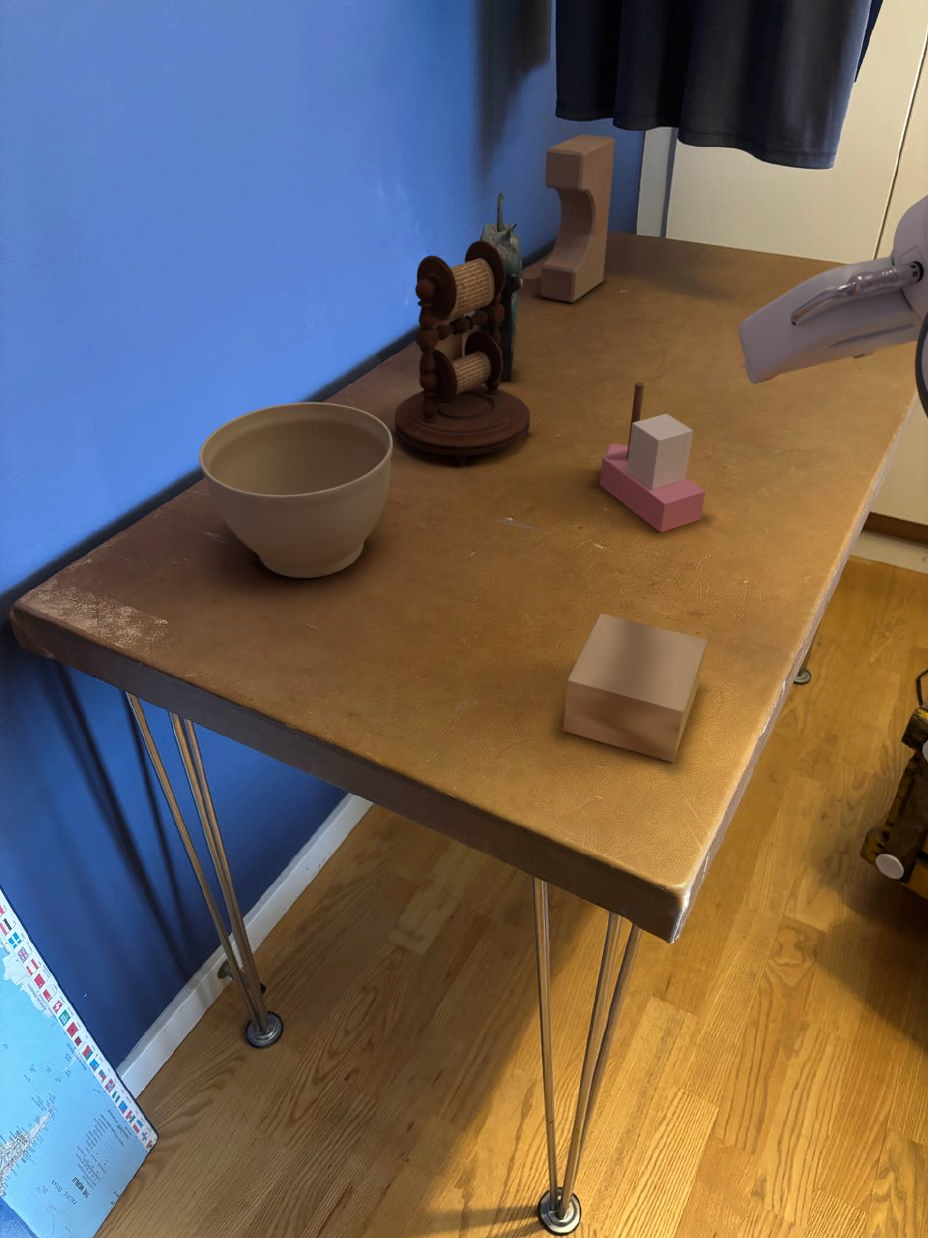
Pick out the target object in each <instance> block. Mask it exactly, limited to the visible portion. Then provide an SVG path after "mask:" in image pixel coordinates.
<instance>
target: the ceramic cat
mask: <svg viewBox="0 0 928 1238" xmlns="http://www.w3.org/2000/svg"><path fill="white" fill-rule="evenodd" d="M504 196H505V194H504V192H502V193H501V192H500V193H498V199H497V203H496V204H497V205H496V213H497V216H496V223H489V222H487V223H485V224H484V226H483V228H482V231H481V235H480V237H479V240H478V241H480V240H482V241H487V242H489V243H490V244H492V245H493V246H494V247H495V248H496V249H497V251H498V252H499V254H500V256H501V258H502V260H503V263H504V268H505V283H504V287H503V289H502V291H501V299H500V301H499V302H498V303H500V304H501V305H502V306H503V308H504V312H505V313H504V317H503V319H502V321H501V322H500V323H501V324H500V326H498V331H499V334H500V342H499V344H498V347H499V348H500V349H501V351H502V362H503V368H502V373H501V376H500V380H501V382H511V381H512V379H513V367H514V356H515V342H516V341H515V340H516V322H517V304H518V291H520V290H521V289H523V287H524V282H523V276H524V274H523V273H524V272H523V263H522V261H523V260H522V249H521V248H522V247H521V237H520V236H519V235H518V234H517V233H513V232H514V229H516V228H517V224H518V222H515V223H513V224H511V225H510V224H509V223H504V222H503V221H504V219H503V210H502V205H503V204H502V202H503V199H504ZM474 242H475V241H473V242H472V243H474ZM483 309H484V307H481V308H479V309H476V310H473V311H474V313H476V312H477V311H483ZM486 323H487V322H486ZM486 323H485V324H484V325H481V326H477V328H478V330H477V331H481V332H484V333H487V334H488V330H489V326H487V324H486Z"/></svg>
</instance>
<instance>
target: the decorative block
mask: <svg viewBox="0 0 928 1238" xmlns="http://www.w3.org/2000/svg"><path fill="white" fill-rule="evenodd" d="M615 144H616V139H615V138H614V137H613V136H604V135H603V136H602V135H595V134H594V135H592V134H586V133H585V134H584V133H580V134H579V135H577V136H574V137H572V138H570V139H567V140H565V141H563V142H560V143H558V144H556V145H554V146H551V147H549V148H548V149H547V150H546V160H545V178H544V179H545V180H544V181H545V182H544V185H545V187H546V188H548V189H549V188H550V189H554V190H555V191H556V193H557V195H558V198H559V202H560V221H559V229H558V233H557V236H556V240H555V244H554V246H553V249H552V251H551V253H550V255H549V257H548V259H546V261H545V262H544V263H543V264H542V265H541V270H540V291H539V293H540V295H539V296H541V298H542V299H547V300H552V301H558V302H563V303H568V304H573V303H574V302H576V301H577V300H579V299H580V298H581V297H583V296H584V295H585V294H587V293H588V292H589V291H591V290H592V289H594V288H595V287H597V286H598V285H599V284H601V283H603V281H604V273H605V263H606V261H605V260H606V252H607V251H606V250H607V239H608V228H609V227H608V226H609V215H610V206H611V205H610V204H611V194H612V182H613V181H612V180H613V170H614V157H615V148H616V147H615V146H616V145H615Z"/></svg>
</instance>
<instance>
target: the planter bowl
mask: <svg viewBox="0 0 928 1238" xmlns="http://www.w3.org/2000/svg"><path fill="white" fill-rule="evenodd" d="M393 446H394V443H393V436H392V433H391V431H390V429H389V428H388V427H387V425H386V424H385V423H384V422H383V421H381V420H380V418H378V417H376V416H375V415H373V414H371V413H369V412H367V411H365V410H362V409H359V408H356V407H352V406H348V405H343V404H339V403H333V402H332V403H331V402H318V401H302V402H290V403H284V404H276V405H271V406H265V407H262V408H257V409H256V410H252V411H249V412H246V413H243V414H241V415H238V416H236V417H234V418H233V419H230V420H229V421H227V422H226V423H224V424H222V425H221V426H218V428H216V429H215V430H214V431H212V432H211V433H210V434H209V435H208V436H207V438H205V440H204V442H203V443H202V445H201V447H200V450H199V454H198V461H199V466H200V470H201V472H202V474H203V476H204V478H205V480H206V482H207V485H208V489H209V492H210V495H211V497H212V500H213V502H214V505H215V506H216V509H217V511H218V513H219V514H220V517H222V519H223V521H224V522H225V524H226V525H227V526H228V528H229V529H230V531H232V532H233V534H234V535H235V536H236V537H237V538H238V539H239V540H240V541H241V542H242V543H243V544H244V545H245V546H246V547H248V549H250V550H251V551H252V552H254V553H255V554H257V555H258V557H259V559H260V561H261V563H262V564H263V565H264V566H265V567H266V568H267V569H269V570H270V571H272V572H273V573H275V574H278V575H281V576H285V577H289V578H295V579H314V578H320V577H326V576H328V575H329V576H330V575H332V574H335V573H338V572H340V571H342V570H344V569H346V568H347V567H349V566H350V565H352V564H353V563H355V561H356V560H357V559H358V558H359V556H361V554H362V551H363V549H364V545H365V541H366V540H367V538H368V537H369V536H370V534H371V533H372V531H373V530H374V528H375V527H376V525H377V524H378V521H379V519H380V517H381V514H382V512H383V509H384V507H385V504H386V501H387V497H388V493H389V487H390V482H391V469H392V468H391V467H392V466H391V465H392V464H391V463H392V462H391V460H392V456H393V450H394V449H393V448H394V447H393Z"/></svg>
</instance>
